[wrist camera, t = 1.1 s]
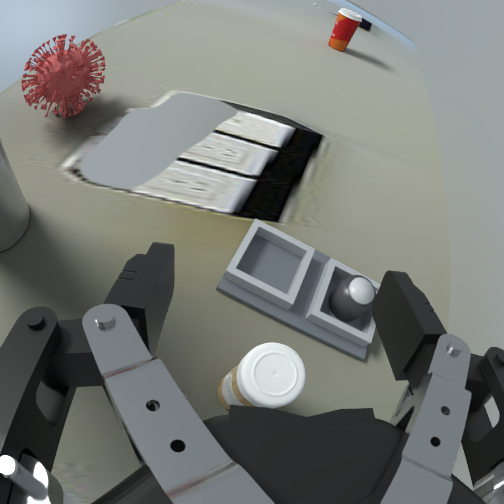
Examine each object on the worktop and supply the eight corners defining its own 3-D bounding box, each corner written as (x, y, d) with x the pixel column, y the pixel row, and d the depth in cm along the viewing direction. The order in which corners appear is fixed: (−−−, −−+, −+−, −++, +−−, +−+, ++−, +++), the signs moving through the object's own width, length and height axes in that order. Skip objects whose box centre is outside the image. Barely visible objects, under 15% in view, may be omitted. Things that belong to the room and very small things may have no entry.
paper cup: (333, 41, 89) (348, 8, 77) (351, 52, 87) (367, 18, 75) (320, 42, 85) (335, 6, 73) (339, 53, 83) (355, 17, 72)
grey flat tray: (216, 289, 37) (223, 268, 33) (254, 222, 43) (264, 197, 39) (361, 360, 36) (385, 349, 32) (380, 288, 42) (401, 270, 38)
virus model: (16, 132, 42) (-3, 61, 29) (58, 86, 50) (51, 22, 37) (82, 142, 44) (71, 60, 31) (121, 93, 51) (121, 22, 39)
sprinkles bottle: (254, 369, 33) (299, 336, 22) (263, 409, 31) (314, 399, 20) (212, 375, 32) (235, 345, 21) (220, 416, 30) (248, 413, 19)
